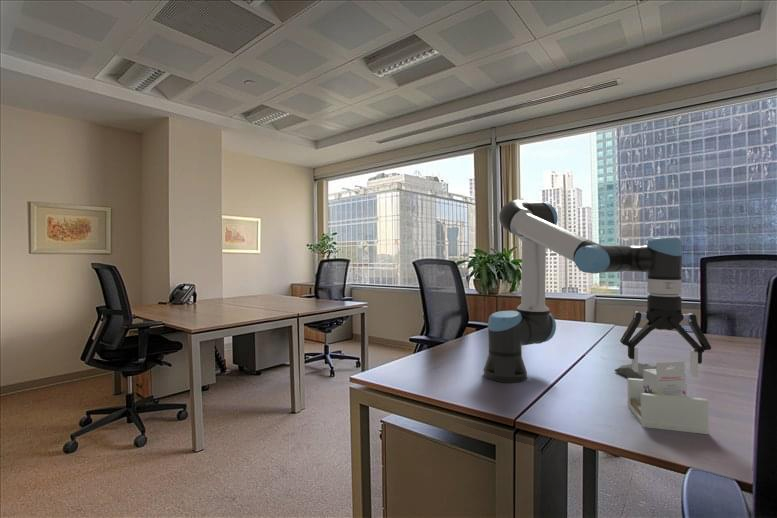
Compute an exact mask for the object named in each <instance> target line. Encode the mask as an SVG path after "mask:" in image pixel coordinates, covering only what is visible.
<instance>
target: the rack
mask: <svg viewBox="0 0 777 518" xmlns="http://www.w3.org/2000/svg"><path fill="white" fill-rule="evenodd" d="M687 389H688V388H687V383H686V382H685V392H686V397H683V396H672V395H660V394H649V393H643V379H636V378H628V377H627V401H626V404H627V407H628V408H629V410H630V411H631V412H632V413H633V415H634V416H635V417H636V419H637V421H638V422H639V423H640V424H641V426H642V427H643V428H648V429H649V428H650V429H658V430H667V431H676V432H684V433H685V432H686V433H695V434H704V435H710V429H709V400H708V399H706V398H705V397H693V396H688V394H687V392H688V391H687Z"/></svg>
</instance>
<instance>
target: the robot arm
mask: <svg viewBox="0 0 777 518" xmlns="http://www.w3.org/2000/svg"><path fill="white" fill-rule="evenodd" d="M558 218H559V217H558V212H557V210H556V208H555V207H554V206H553V205H552V204H551V203H550V202H547V201H546V202H545V201H541V200H524V199H523V200H521V199H514V200H510V201H509V202H507V203H505V204H504V205H503V206H502V208H501V209H500V211H499V216H498V220H499V224H500V225H501V227H502V228H503V229H504V230H506V231H507V232H509V233H510V234H513V235H515V236H517V238H518V239H519V240H520V241H521V295H520V297H521V300H520V304H519V305H518V306H516V310H502V311H496V312H493V313H491V314H490V315H489V317H488V323H487V329H488V332H487V333H488V334H487V335H488V356H487V359H486V361H485V364H484V367H483V368H484V369H483V376H484V377H485V378H486V379H488V380H491V381H494V382H499V383H512V384H513V383H520V382H524V381H526V380H527V379H528V371H527V368H526V366H525V361H524V359H523V355H522V351H523V350H522V348H523V346H530V345H534V344H535V345H536V344H537V345H538V344H543V343H546V342H549V341H550V340H551V339H553V337H554V336H555V334H556V329H557V323H556V320H555V319H554V316H553V315H552V313H550V308H549V307H548V306H547V305H546V280H547V279H546V276H547V275H546V273H547V272H546V270H547V268H546V267H547V249H548V250H551V251H552V252H554V253H556V254H558V255H560V256H562V257H564V258H565V259H568V260H569V261H572V262H574V265H575V266H576V267H577V269H578V270H579V271H580V272H582V273H585V274H586V273H587V274H603V273H616V272H617V273H619V272H631V273H632V272H637V273H638V272H641V273H647V287H646V288H647V289H646V292H647V293H648V295H647V297H646V299H647V302H646V303H647V304H646V307H647V309H646V312H639V311H637V310H635V311H634V312H633V314H632V315H633V316H632V320H631V321H630V323H629V324H628V326H627V329H626V330H625V331H624V333H623V335H622V336H621V338H620V340H619V342H620V343H621V344H622V345H623V346H627V357H628V359H630V360H631V364H632V370H633V371H634V372H638V363H639V348H638V347H637V345H638V344H639V343H640V342H641V341H643V340H644V339H645V338H646V336H648V335H649V334H650V333H651V332H652V331H654V330H655V329H657V330H661V331H662V330H667V331H673V330H675V331H676V332H677V333H678V334H679V335H680V336H681V337H682V338H683V339H684V341H686V342H687V343H688V344H689V346H691V347H692V348H693V349H689V374H690V375H691V376H693V377H695V378H698V377H699V367H698V365H699V364H702V363H703V353H704V352H705V351H710V350H712V346H711V345H710V342H709V341H708V339H707V337H706V336H705V334H704V332H703V330H702V329H701V327H700V326H699V324H698V321H697V320H698V319H697V315H696V314H694V313H692V312H688V313H683V312H682V303H683V301H682V300H683V298H682V297H681V296H680V295H681V294H682V287H683V286H682V281H683V279H682V278H683V277H682V268H683V267H682V266H683V265H682V263H683V260H682V259H683V255H684V254H683V248H682V247H683V246H682V240H681V239H680V238H677V237H655V238H654V237H651V238H649V239H648V240H647V244H645V245H602V244H599V243H597V242H595V241H592V240H590V239H589V238H586V237H583V236H582V235H579V234H577V233H575V232H572V231H570V230H567V229H565V228H563V227H560V226H558V225H557V224H558V220H559V219H558ZM645 318H646V320H647V322H646V323H645V324H644V326H643V327H642V328H641V329H639V331H638V332H637V333H636V334H635V335H634V333H635V332H636V330H637V328H638V327H639V325H640V324H641V322H642V321H643V320H644V319H645ZM683 320H685V322H687V323H688V325H689V327H690V328H691V331H692V332H693V334H694V336H695V337H696V340H698V342H697V341H696V340H695V339H694V338H693V337H692V336H691V335H690V334H689V333H688V332H687V330H685V328H684V327H683V326H682V325H681V324H680V323H681V322H682V321H683ZM633 335H634V336H633ZM632 336H633V337H632Z"/></svg>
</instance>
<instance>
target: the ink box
mask: <svg viewBox="0 0 777 518" xmlns="http://www.w3.org/2000/svg"><path fill="white" fill-rule="evenodd" d="M655 364H656V369H643V393H649V394H660V395H672V396H683V397H686V392H685V383H686V371H685V370H686V369H685V368H686V367H685V361H667V362H657V363H655ZM670 366H671V367H675V368H671V367H670ZM667 367H668V368H667Z"/></svg>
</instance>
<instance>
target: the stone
mask: <svg viewBox="0 0 777 518" xmlns="http://www.w3.org/2000/svg"><path fill="white" fill-rule="evenodd" d="M643 369H656V366H655V365H650V364H648V363H644V364H643V363H639V362H638V372H634V371H633V370H632V363H630V364H629V363H628V364H624V365H623V364H622V365H620V366H619V367H618V368H616V369H614V372H616V373H618V374H619V375H622V376H624V377H627V379H628V378H636V379H643Z"/></svg>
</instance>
